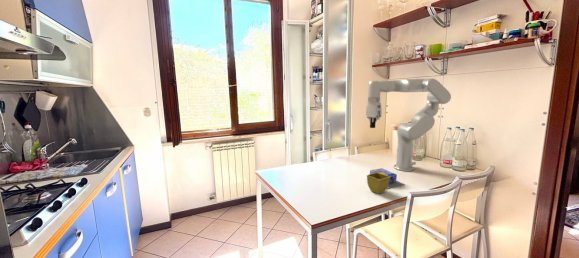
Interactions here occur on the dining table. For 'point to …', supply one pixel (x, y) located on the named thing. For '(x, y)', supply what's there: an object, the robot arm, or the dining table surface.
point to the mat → (395, 184)
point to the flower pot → (377, 182)
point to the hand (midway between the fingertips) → (372, 127)
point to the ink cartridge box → (385, 172)
